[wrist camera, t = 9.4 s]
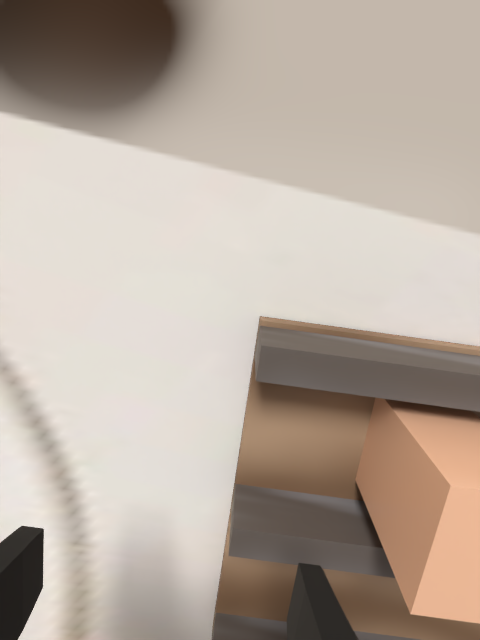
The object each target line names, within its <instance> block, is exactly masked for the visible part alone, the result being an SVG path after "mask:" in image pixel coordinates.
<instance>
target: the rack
mask: <svg viewBox="0 0 480 640" xmlns="http://www.w3.org/2000/svg"><path fill="white" fill-rule="evenodd" d="M375 398H382V399H390V400H397V401H404V402H412V403H419V404H426V405H434V406H441V407H448V408H455V409H463V410H470V411H472V412H473V413H474V414H476V415H477V416H478V417H479V418H480V347H479V346H471V345H464V344H457V343H450V342H443V341H435V340H428V339H421V338H414V337H406V336H399V335H392V334H385V333H377V332H370V331H363V330H356V329H349V328H341V327H334V326H327V325H320V324H312V323H305V322H298V321H291V320H283V319H276V318H269V317H262V316H260V319H259V326H258V332H257V339H256V345H255V352H254V359H253V365H252V372H251V378H250V385H249V391H248V398H247V404H246V411H245V417H244V424H243V431H242V437H241V444H240V450H239V457H238V463H237V470H236V476H235V483H234V489H233V496H232V503H231V509H230V516H229V522H228V529H227V535H226V542H225V548H224V555H223V561H222V568H221V575H220V581H219V588H218V594H217V601H216V607H215V614H214V620H213V630H212V640H287V615H288V611H289V606H290V601H291V596H292V592H293V587H294V582H295V578H296V573H297V568H298V563H305V564H313V565H320V566H321V567H322V569H323V570H324V572H325V575H326V577H327V579H328V581H329V583H330V585H331V587H332V589H333V591H334V594H335V596H336V598H337V600H338V602H339V604H340V606H341V607H342V609H343V611H344V613H345V615H346V617H347V619H348V621H349V623H350V625H351V627H352V629H353V630H354V632H355V634H356V636H357V638H358V639H359V640H480V624H479V623H472V622H464V621H457V620H450V619H442V618H435V617H427V616H420V615H413V614H410V612H409V610H408V607H407V605H406V602H405V600H404V597H403V595H402V593H401V590H400V588H399V585H398V583H397V580H396V578H395V575H394V573H393V571H392V568H391V566H390V563H389V561H388V558H387V556H386V553H385V551H384V549H383V546H382V544H381V541H380V539H379V536H378V534H377V531H376V529H375V527H374V524H373V522H372V519H371V517H370V514H369V512H368V509H367V507H366V505H365V502H364V500H363V497H362V495H361V492H360V490H359V488H358V485H357V483H356V480H355V479H356V475H357V471H358V467H359V463H360V459H361V455H362V451H363V447H364V442H365V438H366V434H367V430H368V426H369V422H370V418H371V414H372V410H373V406H374V401H375Z"/></svg>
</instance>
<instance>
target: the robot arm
mask: <svg viewBox="0 0 480 640" xmlns="http://www.w3.org/2000/svg"><path fill="white" fill-rule="evenodd" d="M43 538H44V529H42V528H35V527H27V526H21V527H20V528H18V529H17V530H16V531H14V532H13V533H12V534H11V535H9V536H8V537H7V538H6V539H4V540H3V541H2V542H1V543H0V640H18V638H19V636H20V634H21V633H22V631H23V629H24V627H25V625H26V623H27V620H28V618H29V616H30V614H31V612H32V610H33V608H34V605H35V603H36V601H37V599H38V597H39V594H40V592H41V590H42V588H43ZM287 640H359V639H358V638H357V636H356V634H355V632H354V630H353V629H352V627H351V625H350V623H349V621H348V619H347V617H346V615H345V613H344V611H343V609H342V607H341V606H340V604H339V602H338V600H337V598H336V596H335V594H334V591H333V589H332V587H331V585H330V583H329V581H328V579H327V577H326V575H325V572H324V570H323V569H322V567H321V566H320V565H313V564H305V563H298V568H297V573H296V578H295V582H294V587H293V592H292V596H291V601H290V606H289V611H288V615H287Z"/></svg>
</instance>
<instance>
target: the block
mask: <svg viewBox="0 0 480 640" xmlns="http://www.w3.org/2000/svg"><path fill="white" fill-rule="evenodd" d="M355 480H356V483H357V485H358V488H359V490H360V492H361V495H362V497H363V500H364V502H365V505H366V507H367V509H368V512H369V514H370V517H371V519H372V522H373V524H374V527H375V529H376V531H377V534H378V536H379V539H380V541H381V544H382V546H383V549H384V551H385V553H386V556H387V558H388V561H389V563H390V566H391V568H392V571H393V573H394V575H395V578H396V580H397V583H398V585H399V588H400V590H401V593H402V595H403V597H404V600H405V602H406V605H407V607H408V610H409V612H410V614H413V615H420V616H427V617H435V618H442V619H450V620H457V621H464V622H472V623H479V624H480V418H479V417H478V416H477V415H476V414H474V413H473V412H472V411H470V410H463V409H455V408H448V407H441V406H434V405H426V404H419V403H412V402H404V401H397V400H390V399H382V398H375V401H374V406H373V410H372V414H371V418H370V422H369V426H368V430H367V434H366V438H365V442H364V447H363V451H362V455H361V459H360V463H359V467H358V471H357V475H356V479H355Z"/></svg>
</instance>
